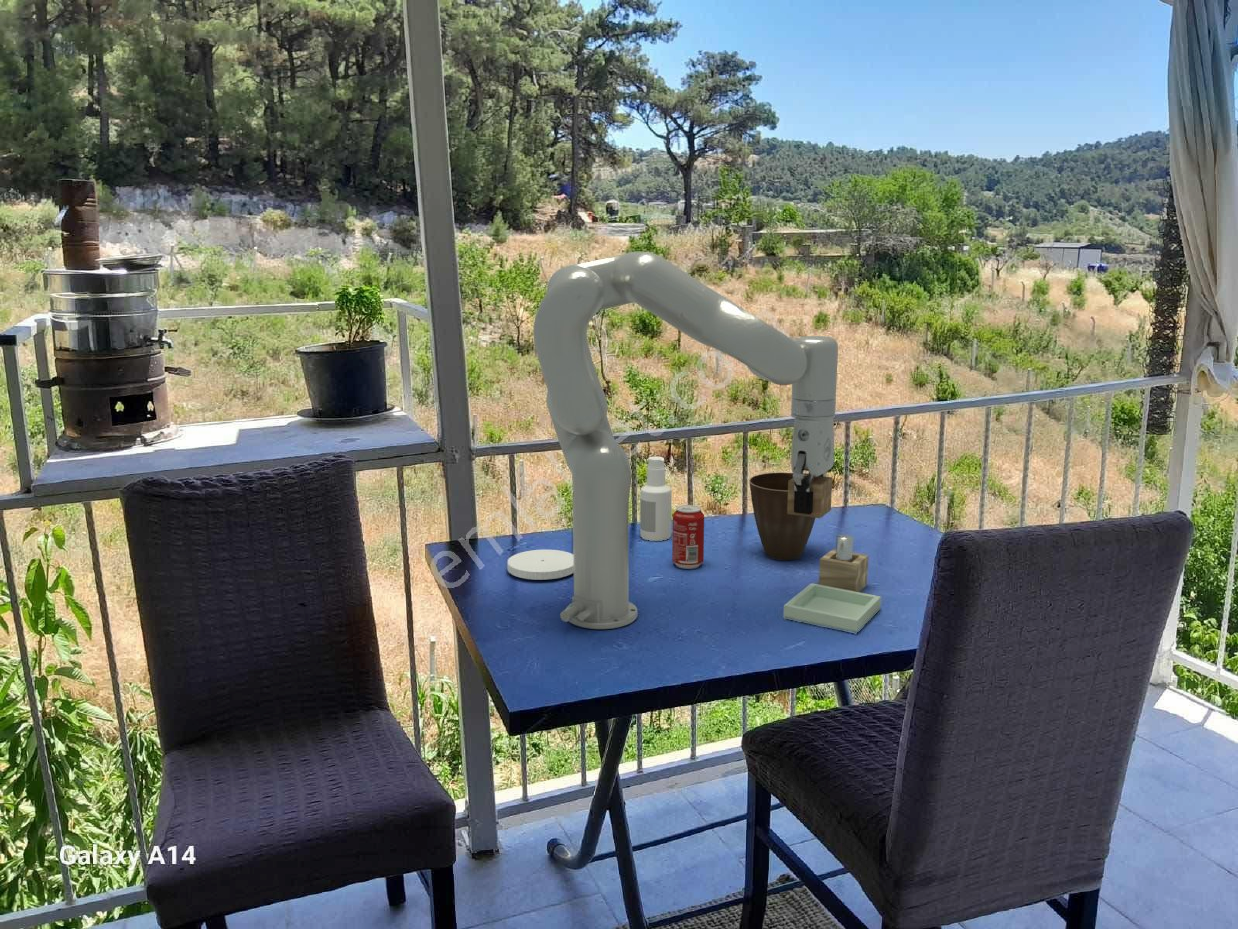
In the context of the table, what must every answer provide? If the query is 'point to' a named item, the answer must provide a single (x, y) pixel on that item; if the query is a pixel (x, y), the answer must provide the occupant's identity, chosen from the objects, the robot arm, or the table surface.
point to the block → (814, 496)
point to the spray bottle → (655, 503)
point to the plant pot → (778, 517)
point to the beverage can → (688, 537)
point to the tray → (832, 607)
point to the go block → (843, 572)
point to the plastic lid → (541, 564)
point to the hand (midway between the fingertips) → (809, 507)
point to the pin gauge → (844, 548)
